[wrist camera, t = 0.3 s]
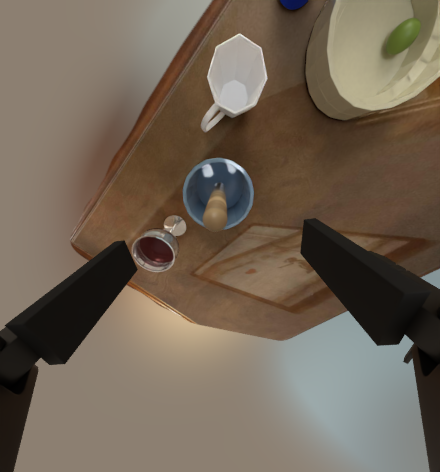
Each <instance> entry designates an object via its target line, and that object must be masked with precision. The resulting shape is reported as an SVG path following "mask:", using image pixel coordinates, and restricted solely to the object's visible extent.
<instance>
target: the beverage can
mask: <svg viewBox="0 0 440 472" xmlns="http://www.w3.org/2000/svg"><path fill="white" fill-rule="evenodd" d="M307 1H308V0H280V2H281V3H282V5H283V6H284V7H286V8H287V9H291V10H295V9H298V8H300V7H302V6H303V5H304V4H306V3H307Z"/></svg>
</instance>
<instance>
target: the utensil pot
mask: <svg viewBox="0 0 440 472" xmlns="http://www.w3.org/2000/svg"><path fill="white" fill-rule="evenodd" d="M219 182H220V183H223V184H224V186H225V192H226V205H227V218H228V220H227V224H226V226H225V227H224V228H223V229H229V228H231V227H233V226H235V225H238V224H239V223H240V222H241V221H242V220H243V219H244V218H245V217H246V216H247V215H248V213H249V211H250V209H251V207H252V205H253V197H254V190H253V185H252V181H251V179H250V177H249V176H248V174H247V173H246V171H245V169H244V168H242V167H241V166H240V165H238V164H237V163H235V162H234V161H232V160H228V159H224V158H213V159H207V160H204V161H203V162H201V163H199V164H198V165H196V166H195V167H194V168H193V169H192V170H191V172H190V173H189V174H188V176H187V177H186V180H185V183H184V187H183V202H184V205H185V207H186V209H187V212H188V214H189V215H190V216H191V217H192V218H193V219H194V220H195V222H197V223H198V224H200V225H202V226H204V224H203V214H204V212H205V209H206V206H207V204H208V201H209V198H210V196H211V193H212V190H213V188H214V185H215V184H216V183H219ZM204 227H205V226H204ZM205 228H206V227H205ZM223 229H222V230H223Z"/></svg>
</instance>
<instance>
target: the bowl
mask: <svg viewBox="0 0 440 472" xmlns="http://www.w3.org/2000/svg"><path fill="white" fill-rule="evenodd" d="M410 18H417V19H419V20H420V22H421V29H420V32H419V34H418V36H417V38H416V39H415V41H414V42H413V43H412V44H411V45H410V46H409V47H408V48H407V49H406V50H404V51H403V52H401V53H399V54H396V55H390V54H388V53H387V51H386V43H387V40H388V38H389V36H390V34H391V33H392V32H393V30H394V29H395V28H396V27H397V26H398V25H399V24H401V23H402V22H403V21H405V20H407V19H410ZM305 73H306V79H307V84H308V90H309V94H310V95H311V97H312V99H313V101H314V103H315V104H316V106H317V108H318V109H320V110H321V111H322V112H324V113H325V114H326V115H327V116H329V117H331V118H336V119H340V120H350V119H357V118H362V117H365V116H368V115H371V114H374V113H377V112H380V111H383V110H386V109H390V108H393V107H395V106H397V105H399V104H401V103H403V102H405V101H407V100H409V99H411V98H413V97H415V96H416V95H417V94H419V93H420V92H421V91H422V90H424V89H425V88H426V87H427V86H429V85H430V84H431V83H432V82H434V81H435V80H436V79H437V78H438V77H439V76H440V0H327V1H326V3H325V5H324V6H323V8H322V10H321V12H320V14H319V16H318V18H317V19H316V21H315V24H314V27H313V31H312V34H311V37H310V41H309V44H308V47H307V58H306V71H305Z"/></svg>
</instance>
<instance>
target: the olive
mask: <svg viewBox="0 0 440 472" xmlns="http://www.w3.org/2000/svg"><path fill="white" fill-rule="evenodd" d="M420 29H421V22H420V20H419V19H417V18H410V19H407V20H405V21H403V22H402V23H401V24H399V25H398V26H397V27H396V28H395V29H394V30H393V32H392V33H391V34H390V36H389V38H388V40H387V43H386V51H387V53H388V54H390V55H396V54H399V53H401V52H403V51H404V50H406V49H407V48H408V47H409V46H410V45H411V44H412V43H413V42H414V41H415V39H416V38H417V36H418V34H419V32H420Z"/></svg>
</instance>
